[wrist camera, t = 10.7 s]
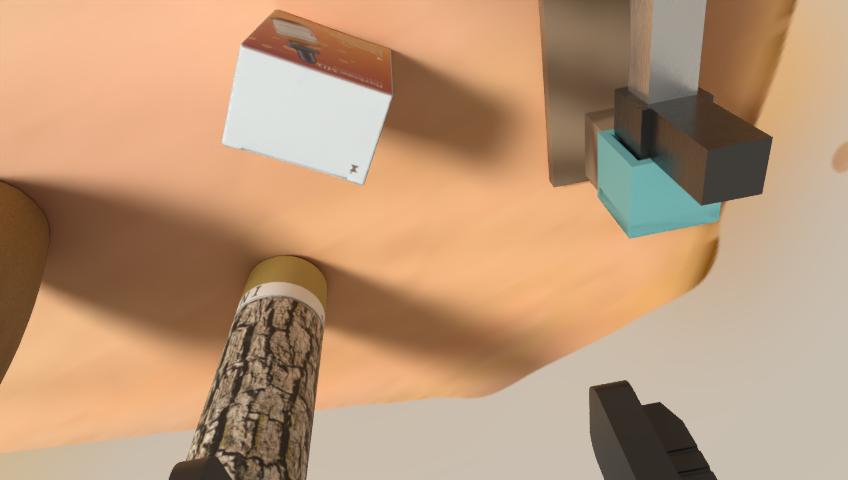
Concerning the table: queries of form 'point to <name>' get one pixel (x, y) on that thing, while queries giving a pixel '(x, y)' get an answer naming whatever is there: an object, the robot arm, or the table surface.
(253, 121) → the small box
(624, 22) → the rig base
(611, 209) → the socket
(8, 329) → the plant pot
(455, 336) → the table surface
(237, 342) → the paper tube
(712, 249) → the table surface
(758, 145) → the grey block with post
